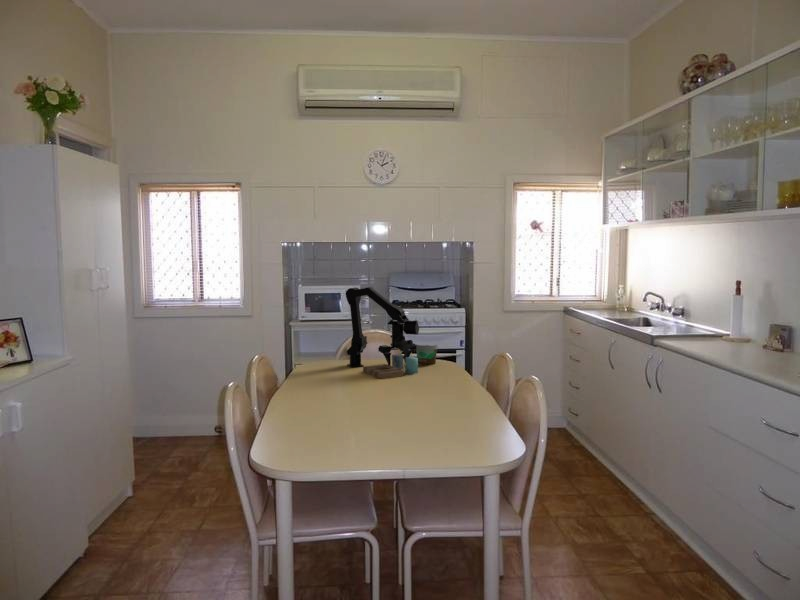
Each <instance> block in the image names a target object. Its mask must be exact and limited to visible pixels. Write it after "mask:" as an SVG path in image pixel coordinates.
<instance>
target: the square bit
mask: <svg viewBox="0 0 800 600" xmlns="http://www.w3.org/2000/svg"><path fill="white" fill-rule="evenodd" d="M391 357H392V358H391V366H392V367H395V368H398V369H400V370H401V369H403V370H404V354H400V353H397V354H391Z"/></svg>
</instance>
